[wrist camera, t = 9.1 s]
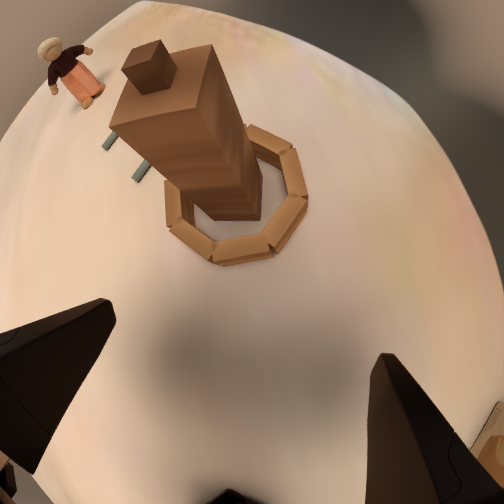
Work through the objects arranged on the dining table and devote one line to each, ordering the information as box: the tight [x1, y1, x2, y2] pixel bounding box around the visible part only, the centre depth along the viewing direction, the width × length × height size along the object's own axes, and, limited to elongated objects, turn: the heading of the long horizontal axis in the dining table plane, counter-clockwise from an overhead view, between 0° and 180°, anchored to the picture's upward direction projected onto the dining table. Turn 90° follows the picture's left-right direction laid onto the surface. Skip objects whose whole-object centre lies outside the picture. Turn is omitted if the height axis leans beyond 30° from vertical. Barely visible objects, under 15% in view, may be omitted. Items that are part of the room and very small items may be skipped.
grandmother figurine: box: [38, 37, 105, 109], centre depth 22 cm, size 8×4×13 cm, turn 155°
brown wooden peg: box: [109, 39, 263, 221], centre depth 14 cm, size 4×4×15 cm
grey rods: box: [101, 131, 151, 182], centre depth 24 cm, size 8×8×1 cm
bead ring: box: [164, 124, 308, 266], centre depth 19 cm, size 10×10×2 cm
